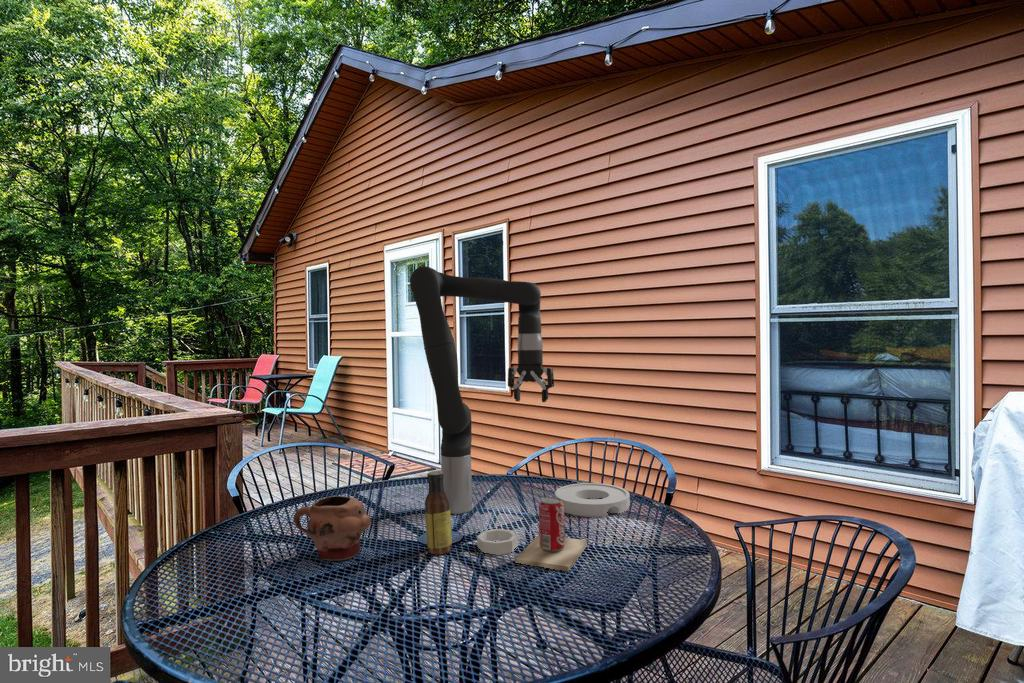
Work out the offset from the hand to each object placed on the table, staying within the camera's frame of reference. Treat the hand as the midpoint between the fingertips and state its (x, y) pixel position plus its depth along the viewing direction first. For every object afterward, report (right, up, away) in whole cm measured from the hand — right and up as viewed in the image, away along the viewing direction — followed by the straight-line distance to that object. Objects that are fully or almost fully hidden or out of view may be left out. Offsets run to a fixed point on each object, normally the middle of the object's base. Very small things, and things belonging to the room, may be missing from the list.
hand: (531, 401), depth 176 cm
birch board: (+4, -34, -35) cm, 49 cm away
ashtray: (+19, -33, +4) cm, 39 cm away
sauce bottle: (-24, -35, -31) cm, 52 cm away
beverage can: (+4, -33, -34) cm, 47 cm away
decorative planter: (-51, -35, -32) cm, 70 cm away
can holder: (-9, -34, -30) cm, 46 cm away
